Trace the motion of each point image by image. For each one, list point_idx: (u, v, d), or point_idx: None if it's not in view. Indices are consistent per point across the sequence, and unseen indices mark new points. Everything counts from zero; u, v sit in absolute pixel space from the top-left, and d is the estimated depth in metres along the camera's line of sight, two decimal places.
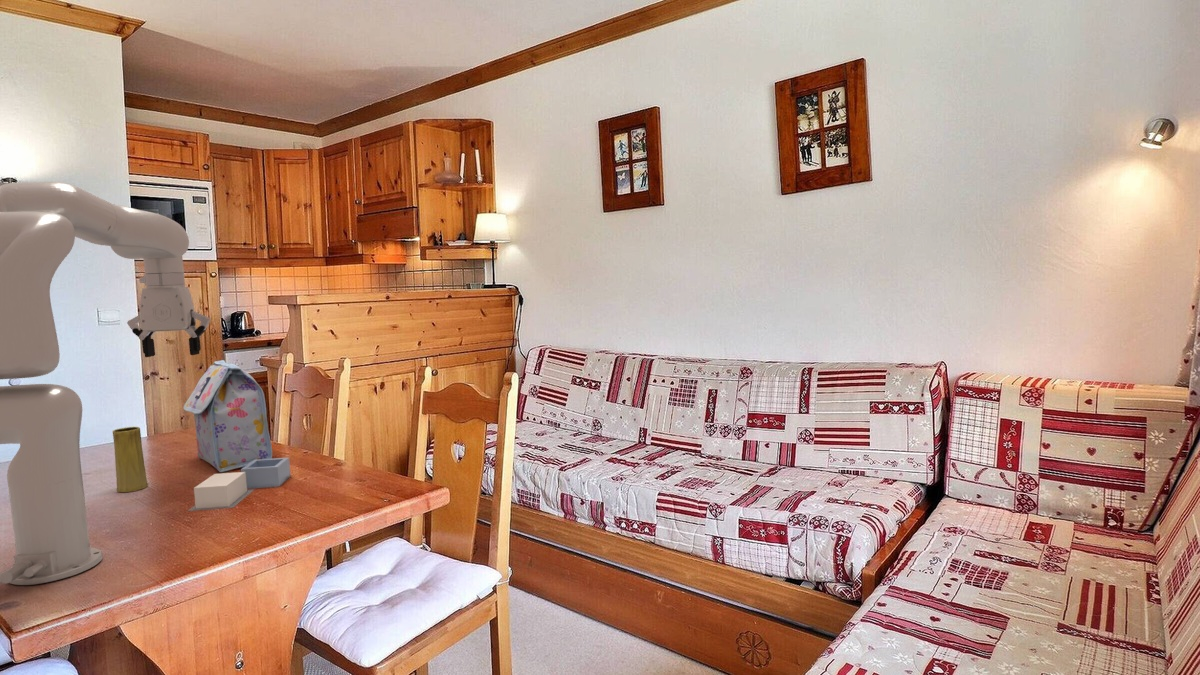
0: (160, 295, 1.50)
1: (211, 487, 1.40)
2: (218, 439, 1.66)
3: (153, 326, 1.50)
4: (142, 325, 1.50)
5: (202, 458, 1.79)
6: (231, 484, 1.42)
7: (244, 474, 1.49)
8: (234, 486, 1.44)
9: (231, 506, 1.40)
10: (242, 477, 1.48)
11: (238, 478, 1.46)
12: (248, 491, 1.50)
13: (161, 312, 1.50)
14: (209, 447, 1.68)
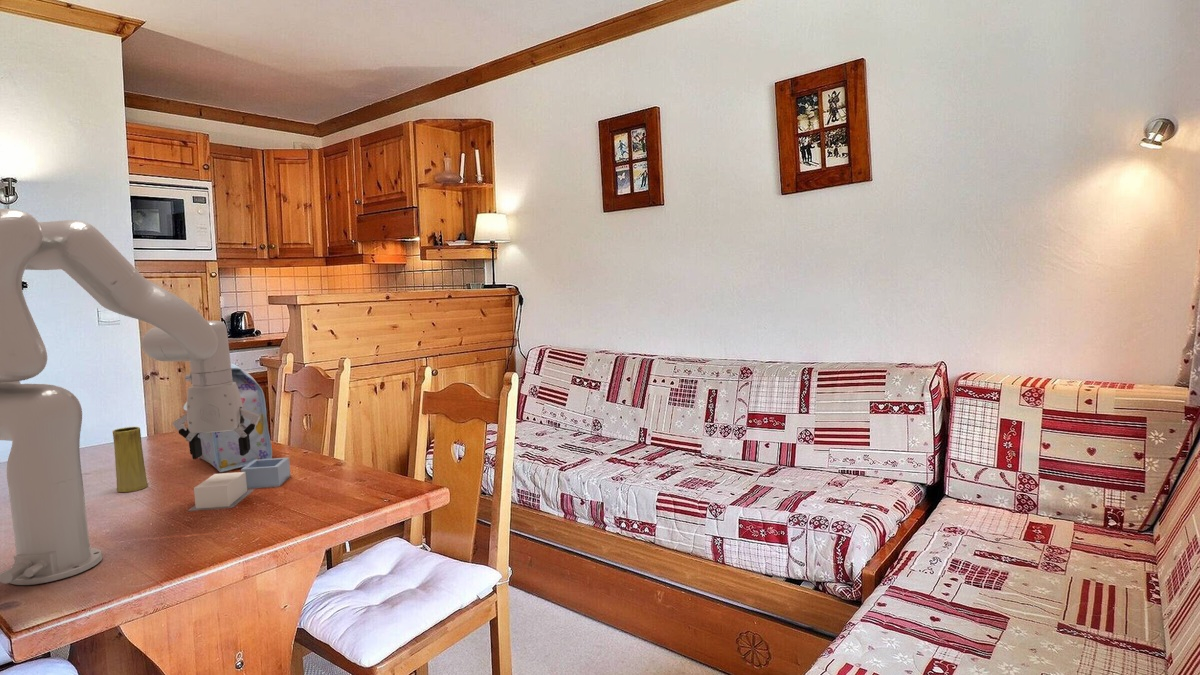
0: (208, 395, 1.40)
1: (211, 487, 1.40)
2: (218, 439, 1.66)
3: (201, 428, 1.41)
4: (189, 427, 1.41)
5: (202, 458, 1.79)
6: (231, 484, 1.42)
7: (244, 474, 1.49)
8: (234, 486, 1.44)
9: (231, 506, 1.40)
10: (242, 477, 1.48)
11: (238, 478, 1.46)
12: (248, 491, 1.50)
13: (209, 413, 1.41)
14: (209, 447, 1.68)
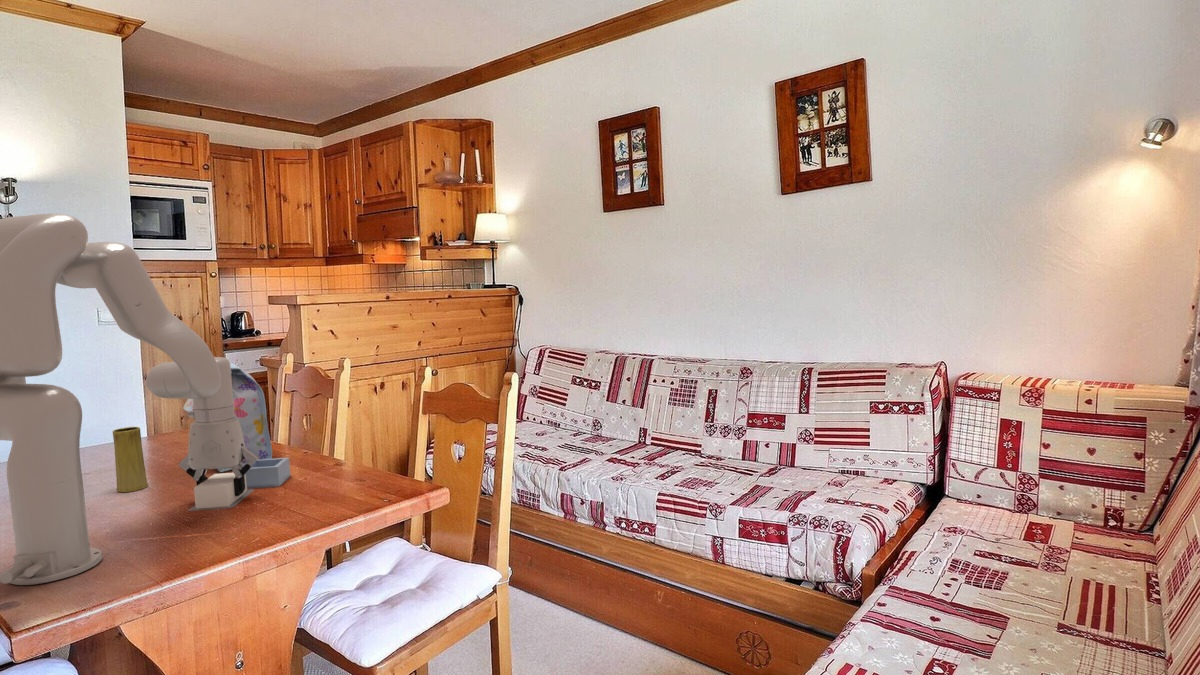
0: (210, 431, 1.41)
1: (211, 487, 1.40)
2: None
3: (202, 464, 1.41)
4: (190, 463, 1.41)
5: None
6: (231, 484, 1.42)
7: None
8: None
9: (231, 506, 1.40)
10: None
11: None
12: (248, 491, 1.50)
13: (210, 450, 1.41)
14: None
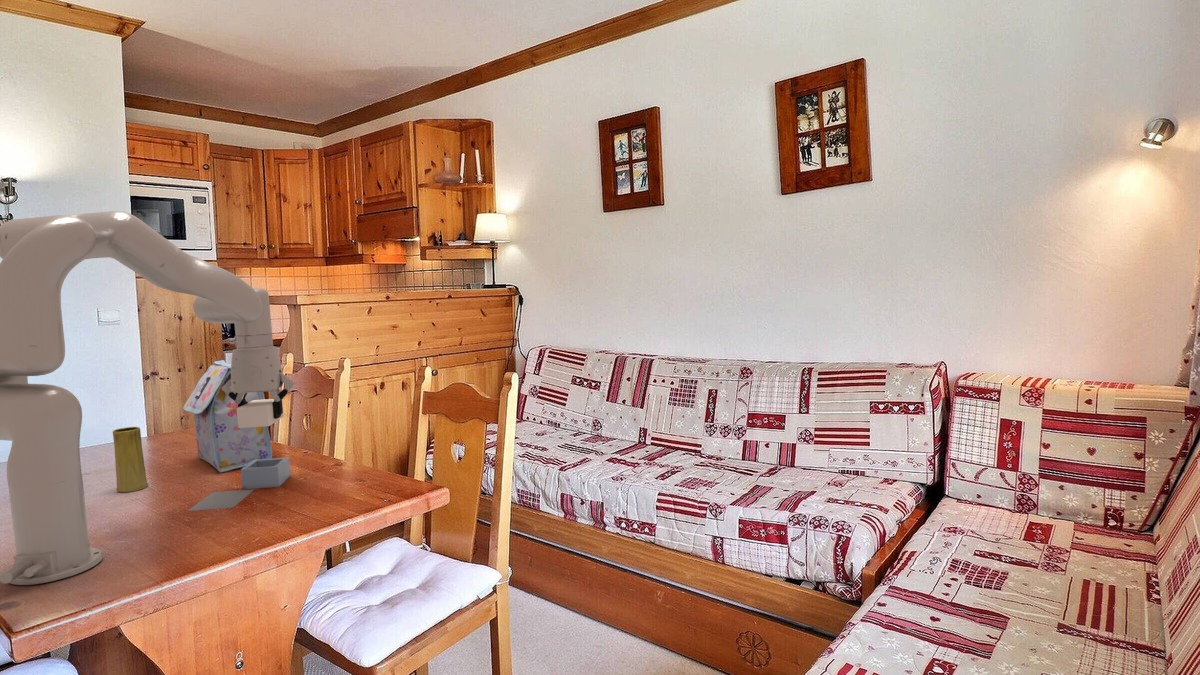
0: (251, 357, 1.51)
1: (252, 408, 1.50)
2: (217, 439, 1.66)
3: (244, 387, 1.51)
4: (233, 386, 1.51)
5: (202, 458, 1.79)
6: (270, 406, 1.52)
7: None
8: None
9: (231, 506, 1.40)
10: None
11: None
12: (248, 491, 1.50)
13: (251, 374, 1.51)
14: (209, 447, 1.68)
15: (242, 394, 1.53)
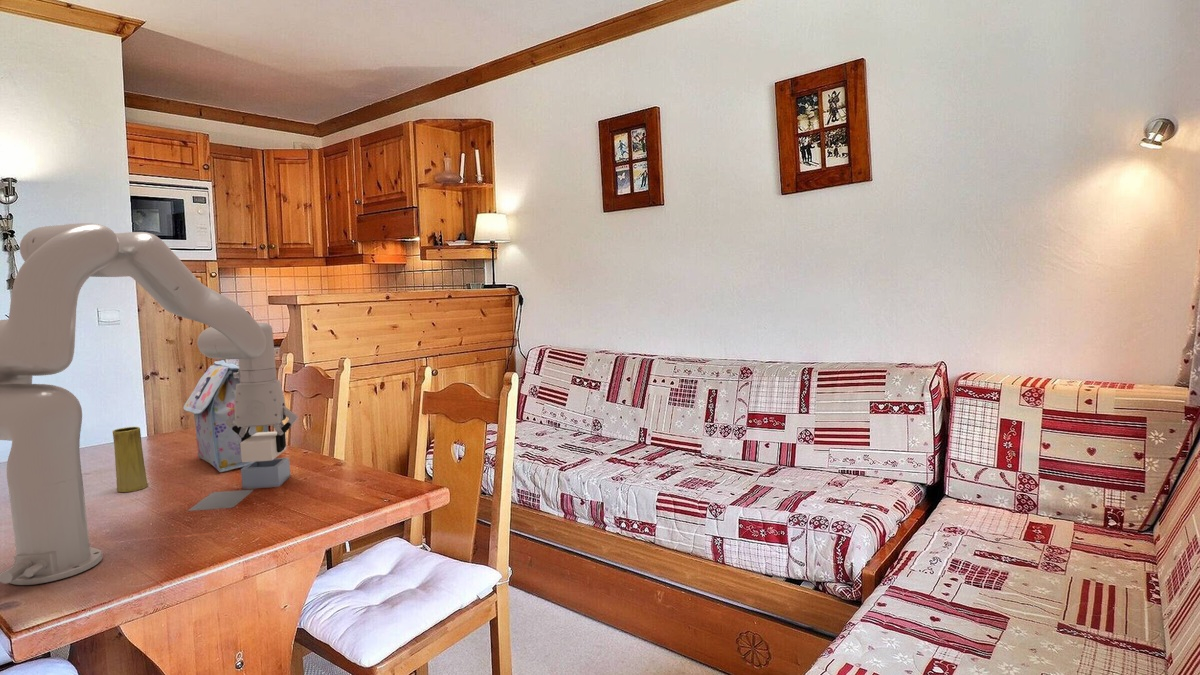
0: (254, 391, 1.52)
1: (256, 442, 1.51)
2: (218, 439, 1.66)
3: (247, 422, 1.52)
4: (236, 421, 1.52)
5: (202, 458, 1.79)
6: (274, 440, 1.53)
7: None
8: None
9: (231, 506, 1.40)
10: None
11: None
12: (248, 491, 1.50)
13: (255, 408, 1.52)
14: (209, 447, 1.68)
15: (245, 428, 1.54)
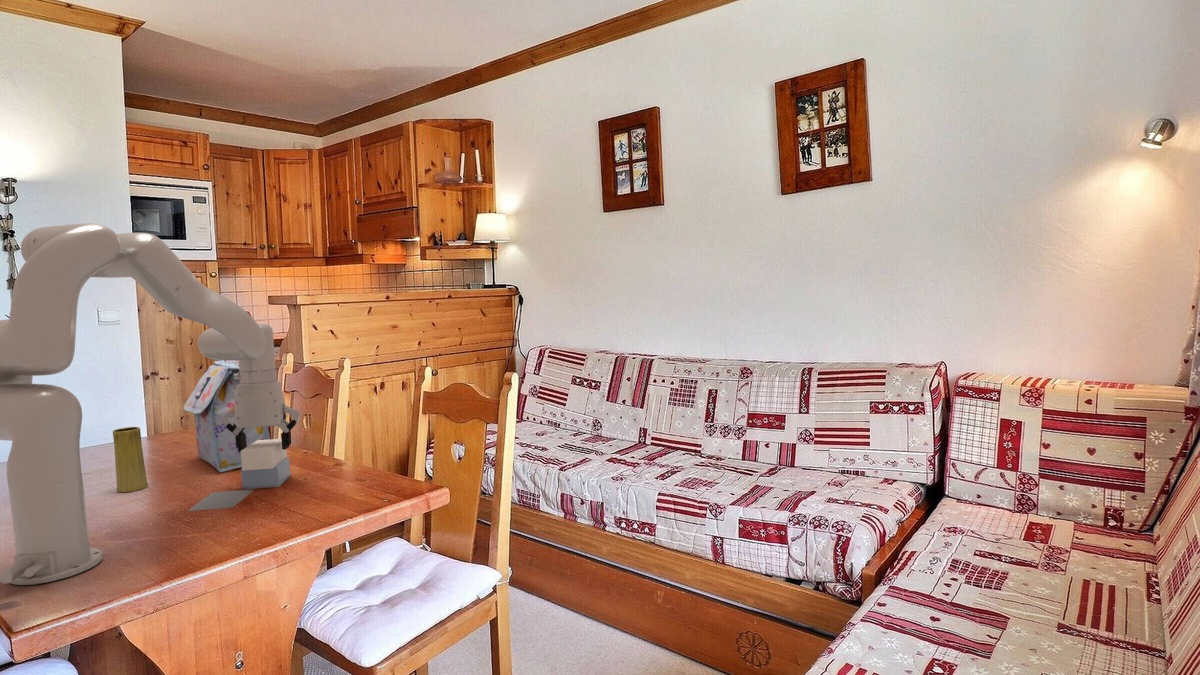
0: (254, 392, 1.52)
1: (256, 450, 1.51)
2: (218, 439, 1.66)
3: (247, 423, 1.52)
4: (237, 422, 1.52)
5: (202, 458, 1.79)
6: (274, 448, 1.53)
7: None
8: (277, 450, 1.55)
9: (231, 506, 1.40)
10: None
11: (280, 443, 1.57)
12: (248, 491, 1.50)
13: (255, 409, 1.52)
14: (209, 447, 1.68)
15: None
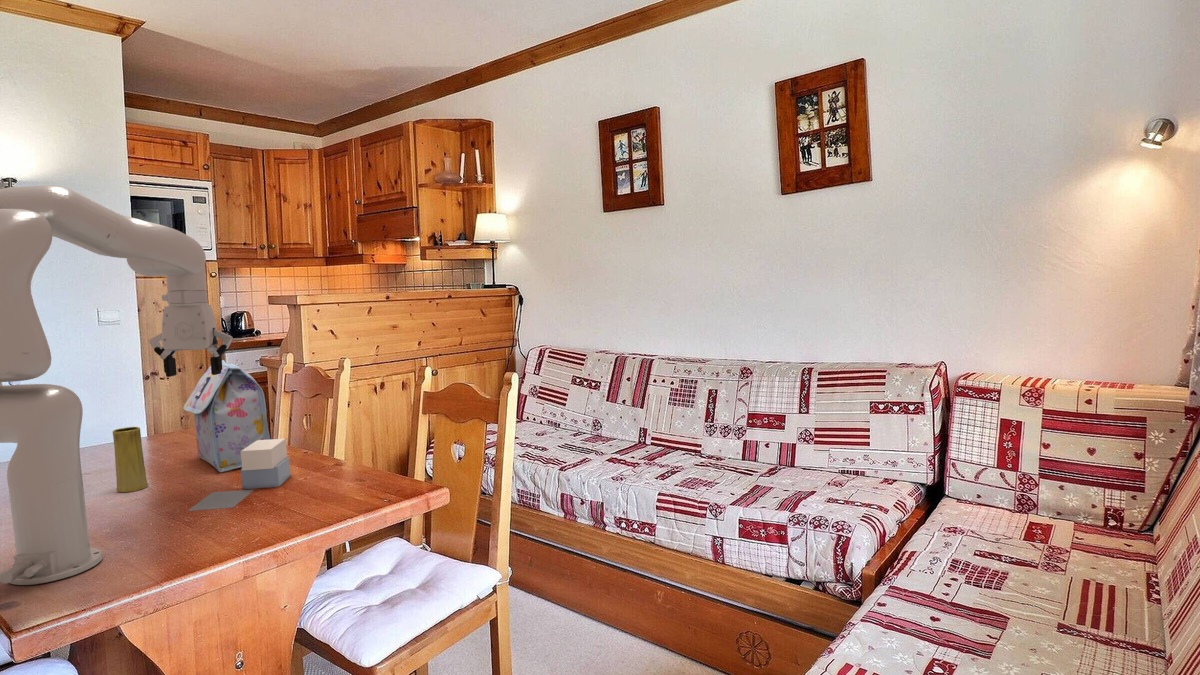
0: (182, 313, 1.46)
1: (256, 450, 1.51)
2: (218, 439, 1.66)
3: (175, 345, 1.46)
4: (164, 344, 1.46)
5: (202, 458, 1.79)
6: (274, 448, 1.53)
7: (284, 440, 1.60)
8: (277, 450, 1.55)
9: (231, 506, 1.40)
10: (283, 443, 1.59)
11: (280, 443, 1.57)
12: (248, 491, 1.50)
13: (182, 331, 1.46)
14: (209, 447, 1.68)
15: (169, 351, 1.48)
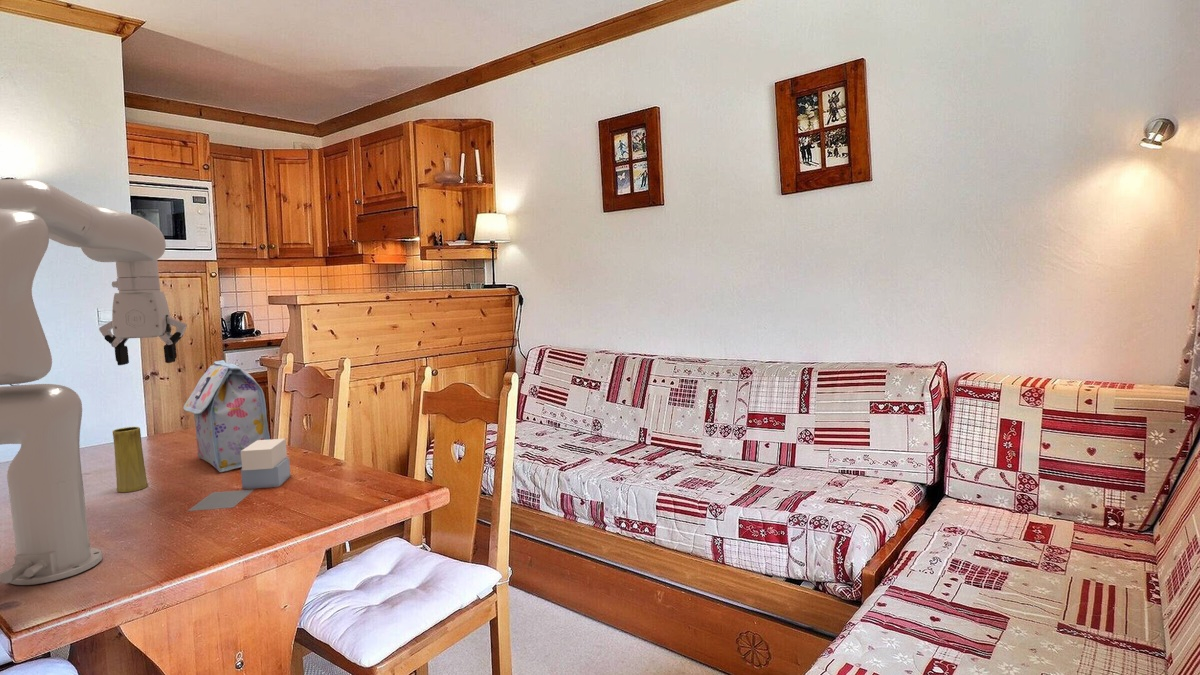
0: (133, 300, 1.43)
1: (256, 450, 1.51)
2: (217, 439, 1.66)
3: (126, 333, 1.43)
4: (114, 332, 1.43)
5: (202, 458, 1.79)
6: (274, 448, 1.53)
7: (284, 440, 1.60)
8: (277, 450, 1.55)
9: (231, 506, 1.40)
10: (283, 443, 1.59)
11: (280, 443, 1.57)
12: (248, 491, 1.50)
13: (134, 318, 1.43)
14: (209, 447, 1.68)
15: (121, 338, 1.45)
